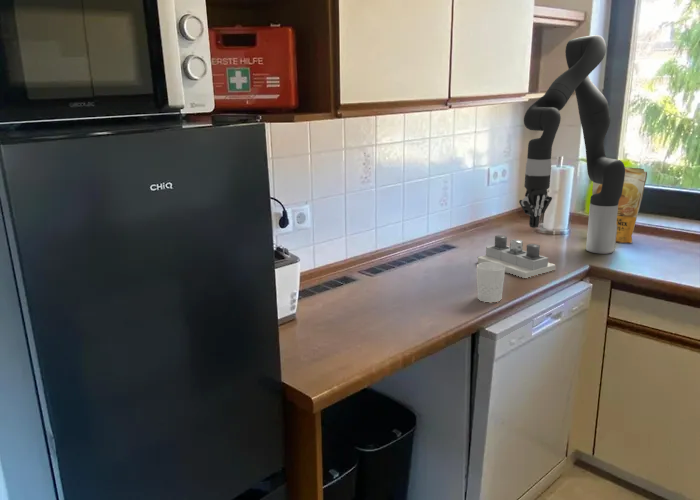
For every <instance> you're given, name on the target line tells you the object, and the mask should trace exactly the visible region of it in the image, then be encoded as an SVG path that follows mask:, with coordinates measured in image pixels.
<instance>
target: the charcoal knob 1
mask: <svg viewBox="0 0 700 500" xmlns="http://www.w3.org/2000/svg"><path fill="white" fill-rule="evenodd" d="M494 245H495V247H496V248H506V247H507V246H508V236H507V235H503V234H497V235H494Z"/></svg>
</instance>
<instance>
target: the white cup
mask: <svg viewBox="0 0 700 500" xmlns="http://www.w3.org/2000/svg"><path fill="white" fill-rule="evenodd" d="M505 273H506V272H505V266H504V265H503V264H500V263H495V262H483V263H477V265H476V290H477V300H478V299H479V300H480V301H479V300H478V301H479V302H481V301H484V302H483V303H485V302H496V301H500V300H501V299H502V300H503V292H504V291H503V290H504V283H505ZM502 300H501V301H502ZM501 301H500V302H501Z"/></svg>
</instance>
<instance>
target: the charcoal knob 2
mask: <svg viewBox="0 0 700 500" xmlns="http://www.w3.org/2000/svg"><path fill="white" fill-rule="evenodd" d="M540 249H541V246H540V244H537V243H528V244H526V251H527V252H526V256H527V257H530V258H537V257H539V255H540Z"/></svg>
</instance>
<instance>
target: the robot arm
mask: <svg viewBox="0 0 700 500" xmlns="http://www.w3.org/2000/svg"><path fill="white" fill-rule="evenodd" d="M606 52H607V44H606V40H605V39H604V37H603V36H601V35H599V34H593V35H586V36H581V37H577V38H572V39H570V40H569V41H568V42H567V43H566V46H565V53H564V54H565V60H566V65H567V68H568V69H567V70H566V71H564V72H562V73H561V74H560V75H559V76H557V78H555V80H553V82H551V84H550V86H549V87H548V89H547V90H546V91H545V93H544V94H543V96H541V97H539V99H537V100H536V101H534V103H532V104H531V105H530V106H529V107H528V108H527V110H526V112H525V113H524V116H523V124H524V126H525V128H526V129H528V130H529V131H536V132H537V131H540V132H542V134H541V136H540V137H537V138H532V139H530V140H529V141H528V144H527V145H528V146H527V155H526V157H527V158H526V163H525V172H524V176H525V177H524V186H523V187H524V188H525V189H526V191H525V194H524V198H523V199H519V205H520V207H521V208H522V211H523V213H524V214H525V215H528V216H529V227H530V228H533V229H535V228H539V224H540V216H541V215H542V214H545V213H546V210H547V209H548V207H549V206H550V204H551V202H552V200H553V197H552V196H549V195H548V190H549V189H550V184H551V175H552V174H551V172H552V150H553V145H554V140H555V138H556V134H557V132H558V129H559V127H560V125H561V119H562V118H561V113H560V111H561V110H563V108H564V107H565V106H566V104H567V103H568V101H569V100H570V98H571V97H572V96H573V93H575V99H576V103H577V108H578V115H579V120H580V125H581V128H582V134H583V140H584V141H583V142H584V147H585V148H584V149H585V156H586V157H585V159H586V170H587V175H588V178H589V180H590V181H591V182H592V183H593V182H594V183H598V184H602V189H601V192H600V193H597V194H593V195H590V200H589V211H588V213H589V214H588V223H587V224H588V225H587V235H586V244H585V250H586V251H588V252H589V253H593V254H601V255H603V254H611V253H614V251H615V249H616V243H617V242H616V234H617V224H616V222H617V213H618V203H619V199H620V197H621V195H622V190H623V184H624V178H625V167H626V166H625V164H624V162H623V161H622V160H620V159H618V158H610V157H606V153H605V152H606V151H605V146H604V143H605V138H606V135H607V133H608V130H609V128H610V125H611V113H610V107H609V102H608V100H607V98H606V96H605V95H604V94H603V93H602V92H601V90H600V89H598V87H597V86H596V84H594V82H592V80H591V78H590V77H589V75H590V74H591V73H592V72H593V71H594V70H595V69H596V68H597V67H598V66H599V65H600V63H602V61H603V59H604V58H605V55H606Z"/></svg>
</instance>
